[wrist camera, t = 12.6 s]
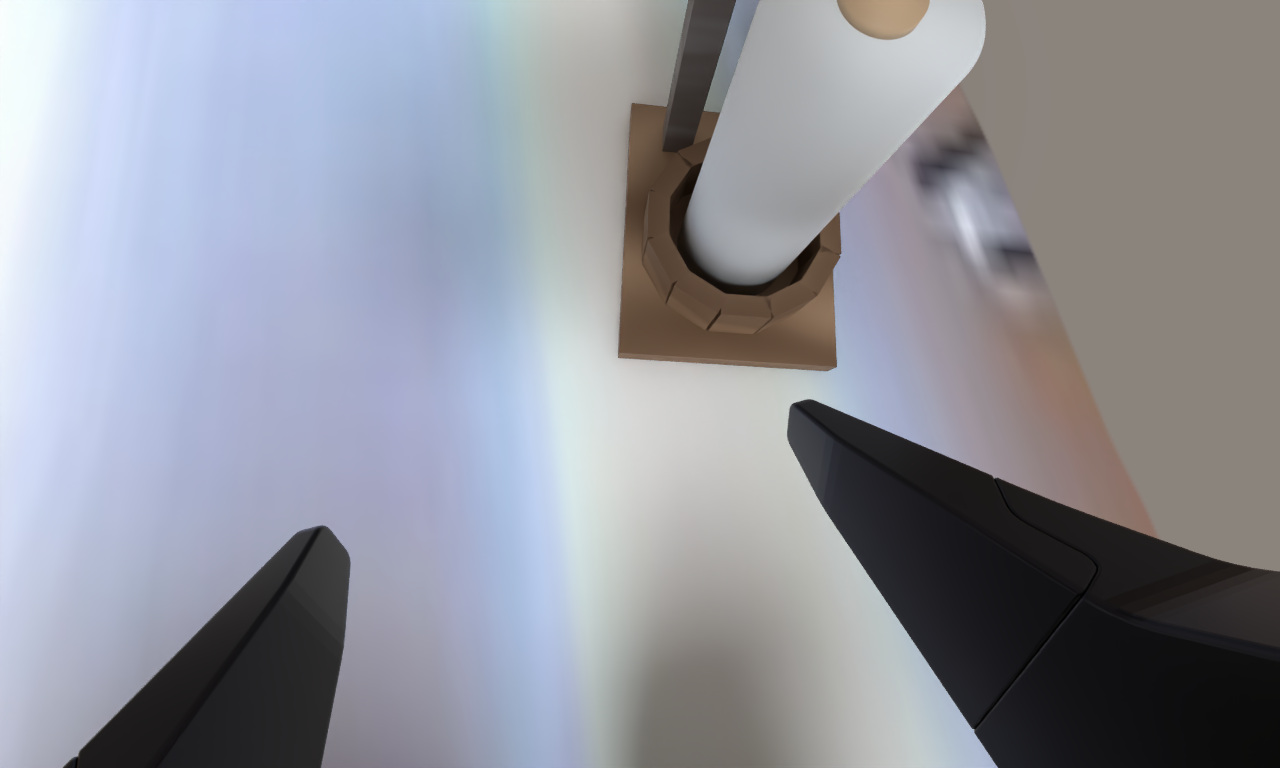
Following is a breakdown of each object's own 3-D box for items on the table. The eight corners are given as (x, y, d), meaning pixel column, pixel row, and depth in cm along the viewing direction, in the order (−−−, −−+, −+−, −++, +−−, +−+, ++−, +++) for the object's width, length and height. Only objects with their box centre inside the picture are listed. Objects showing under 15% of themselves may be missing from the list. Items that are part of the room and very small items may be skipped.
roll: (803, 266, 24) (1040, 33, 11) (716, 319, 23) (867, 129, 10) (743, 182, 25) (903, -132, 12) (656, 230, 24) (727, -56, 11)
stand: (827, 371, 25) (1130, 236, 11) (618, 357, 24) (652, 191, 10) (818, 137, 27) (1051, -213, 13) (630, 117, 26) (671, -283, 12)
